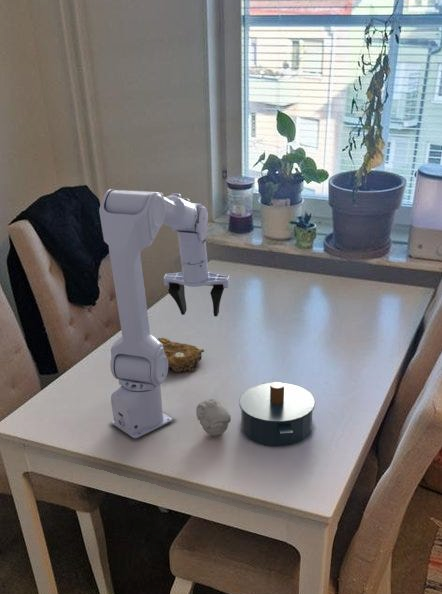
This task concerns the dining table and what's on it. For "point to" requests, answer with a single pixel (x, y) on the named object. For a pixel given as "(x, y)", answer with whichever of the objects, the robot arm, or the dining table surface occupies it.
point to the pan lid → (277, 402)
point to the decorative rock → (181, 355)
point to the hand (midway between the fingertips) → (200, 313)
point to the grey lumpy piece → (213, 417)
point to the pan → (276, 431)
